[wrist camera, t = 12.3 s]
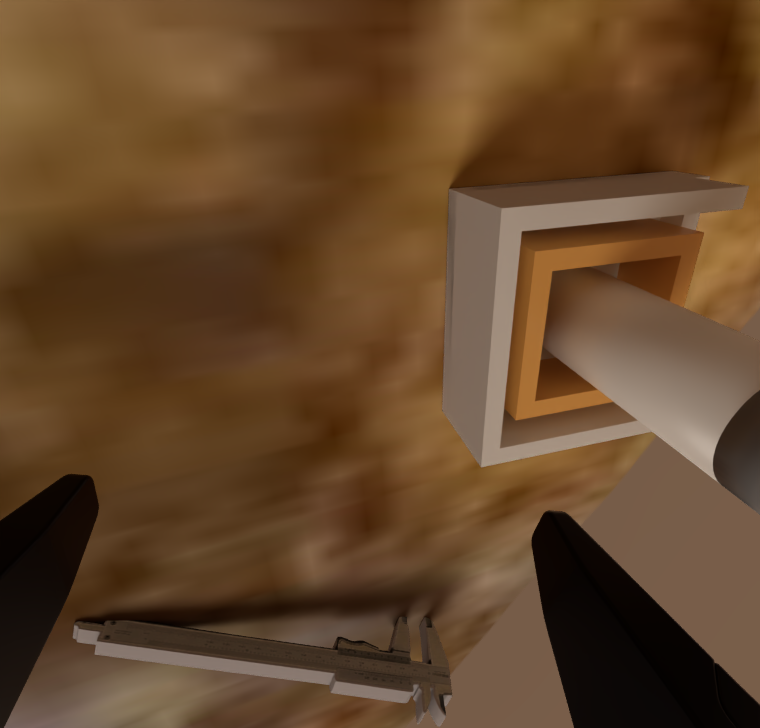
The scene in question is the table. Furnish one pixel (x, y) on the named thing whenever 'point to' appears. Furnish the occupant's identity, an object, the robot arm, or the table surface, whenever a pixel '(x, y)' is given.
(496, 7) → the table surface
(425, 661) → the caliper
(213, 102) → the table surface
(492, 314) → the socket box
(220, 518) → the table surface
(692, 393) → the plug
